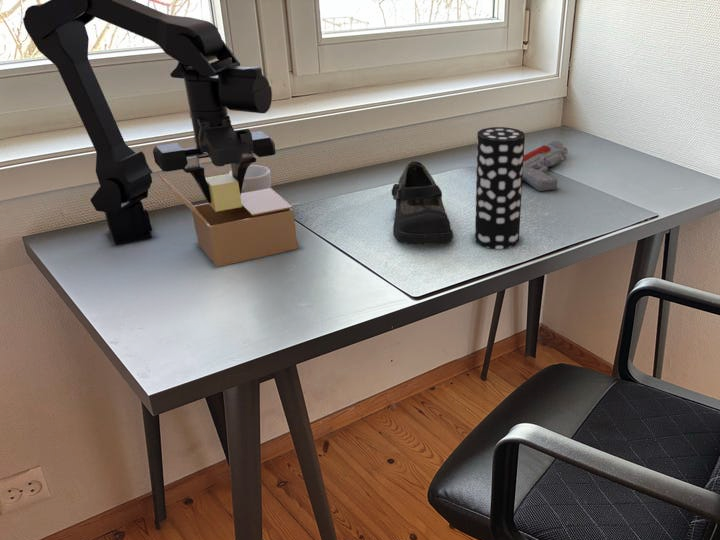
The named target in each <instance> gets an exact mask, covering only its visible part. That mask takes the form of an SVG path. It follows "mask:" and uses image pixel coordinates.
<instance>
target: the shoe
mask: <svg viewBox="0 0 720 540" xmlns="http://www.w3.org/2000/svg"><path fill="white" fill-rule="evenodd" d="M391 196H392V199H393V200H394V201H395V214H394V221H393V225H392V235H393V237H394V238H395V240H396V241H397V242H400V243H402V244H407V245H434V244H435V245H441V244H448V243H451V242H452V241H453V239H454V233H453V230H452V228H451V223H450V219H449V217H448V215H447V212H446V209H445V206H444V201H443V199H442V198H443V197H442V196H443V192H442V189H441V188H440V187H439V186H438V184H437V183H436V181H435V180H434V178H433V176H432V175H431V174H430V172H429V171H428V169H427V167H426V166H425V165H424V164H422V162H420V161H411V162H409V163H408V164H407V165H406V166H405V168H404V170H403V172H402V174H401V175H400V177H399V180H398V182H397V183H394V184H393V186H392V188H391Z"/></svg>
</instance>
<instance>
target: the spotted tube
mask: <svg viewBox="0 0 720 540" xmlns="http://www.w3.org/2000/svg"><path fill="white" fill-rule="evenodd" d="M525 141H526V133H525V132H524V131H522V130H520V129H517V128H513V127H505V126H491V127H486V128H482V129H479V130H478V131H477V134H476V181H475V222H474V223H475V224H474V225H475V227H474V229H475V230H474V242H475V243H476V244H478V245H479V246H481V247H483V248H487V249H492V250H493V249H494V250H504V249H509V248H513V247H515V246H517V245H518V244H519V242H520V229H521V211H522V195H523V194H522V193H523V180H522V177H523V160H524V155H525Z"/></svg>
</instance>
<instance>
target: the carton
mask: <svg viewBox="0 0 720 540" xmlns="http://www.w3.org/2000/svg"><path fill="white" fill-rule="evenodd" d="M241 203H242V207H239V208H234V209H228V210H223V211H218V212H215V210H214V209H213V208H212V207H211V206H210V205H209V204H208V202H206V203H201V204H196V205H193V206H194V207H195V208H196V209H197V210H198V211H199V213H200V214H201V215H202V216H203V217H204V218H205V219H206V221H207V222H208V224H207V223H205V222H204V221H203V220H202V219H201V218H200V217H199V216H198V215H197V214H196V213H194V212H193V211H192V210H191V214H192V219H193V223H194V229H195V234H196V238H197V244H198V246H199V247H200V248H201V250H203V252H204V253H205V255H206V256H207V257H208V258H209V259H210V261H211V262H212V264H214V266H215V267H216V268H218V267H219V268H220V267H224V266H227V265H232V264H236V263H241V262H245V261H250V260H254V259H259V258H263V257H268V256H273V255H276V254H280V253H285V252H289V251H295V250H298V249H299V244H298V238H297V229H296V221H295V212H294V211H295V210H294V209H293V205H292V204H290V203H289V202H288V201H287V200H285V198H283V197H282V196H281V195H280V194H279V193H278V192H276V191H275V190H274V189H273V188H272V187H271V188H268V189H263V190H257V191H251V192H246V193H241Z"/></svg>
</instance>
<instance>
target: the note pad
mask: <svg viewBox="0 0 720 540" xmlns="http://www.w3.org/2000/svg"><path fill="white" fill-rule="evenodd" d="M205 178H206V182H207V185H208V188H209V192H210V196H211V203H209V202H208V201H207V200H206V203H208V204H209V205H210V206H211V207H212V208H213V209H214V210H215V212H218V211H223V210H228V209H234V208H239V207H242V203H241V196H240V190H239V184H238V181H237V180H236V179H235V178H234V177H233V176H232V175H230V174H228V173H226V174H219V175H213V176H212V175H211V176H208V177H206V176H205Z"/></svg>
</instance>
